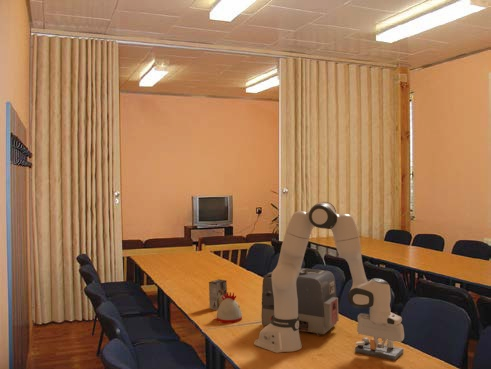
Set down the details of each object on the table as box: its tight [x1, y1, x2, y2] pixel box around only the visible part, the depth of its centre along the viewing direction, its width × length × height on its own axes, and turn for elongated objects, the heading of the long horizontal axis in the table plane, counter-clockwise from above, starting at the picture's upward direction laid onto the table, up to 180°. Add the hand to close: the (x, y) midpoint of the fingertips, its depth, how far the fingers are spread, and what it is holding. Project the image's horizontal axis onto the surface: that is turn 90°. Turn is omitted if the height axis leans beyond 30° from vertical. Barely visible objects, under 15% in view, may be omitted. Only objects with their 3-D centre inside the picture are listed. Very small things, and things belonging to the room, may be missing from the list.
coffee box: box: [208, 279, 228, 311], centre depth 297 cm, size 9×6×16 cm
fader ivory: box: [386, 340, 394, 348], centre depth 222 cm, size 2×2×4 cm
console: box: [354, 341, 404, 361], centre depth 222 cm, size 18×11×3 cm, turn 54°
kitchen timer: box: [216, 291, 243, 324], centre depth 274 cm, size 14×14×15 cm
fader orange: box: [369, 337, 377, 350], centre depth 220 cm, size 2×2×4 cm
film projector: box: [261, 267, 340, 337], centre depth 258 cm, size 39×29×30 cm
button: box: [362, 336, 370, 343], centre depth 229 cm, size 3×3×2 cm
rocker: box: [354, 340, 365, 346], centre depth 224 cm, size 4×2×1 cm, turn 54°
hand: (380, 347), depth 219 cm, fingers closed
